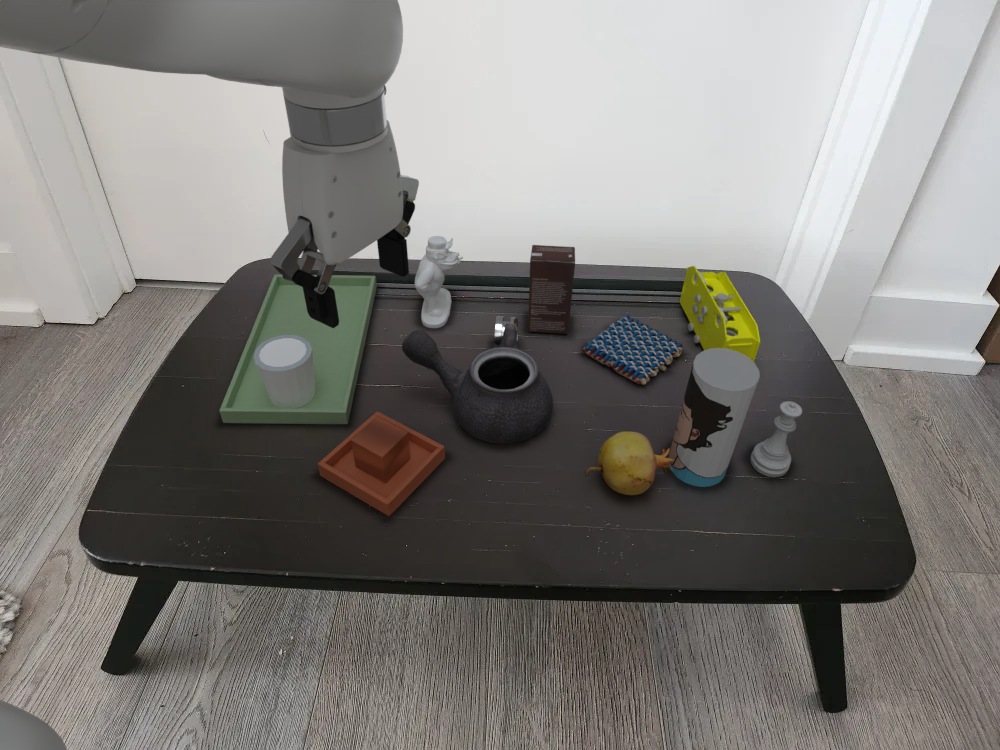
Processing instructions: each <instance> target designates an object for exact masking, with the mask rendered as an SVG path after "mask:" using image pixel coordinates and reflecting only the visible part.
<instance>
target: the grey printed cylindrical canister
mask: <svg viewBox="0 0 1000 750" xmlns="http://www.w3.org/2000/svg"><path fill="white" fill-rule="evenodd" d="M760 377H761V374H760V369H759V367H758V366H757V364H756V362H755V361H754V362H753V361H752V360H751V359H750V358H748V357H747V356H745V355H743V354H741V353H740V352H737V351H733V350H730V349H723V348H713V349H708V350H705V351H704V350H702V351H700V352H699V353H698V354H696V356H695V358H694V359H693V361H692V366H691V370H690V374H689V377H688V381H687V384H686V389H685V392H684V396H683V400H682V403H681V407H680V410H679V411H680V412H679V416H678V418H677V422H676V426H675V430H674V433H673V438H672V441H671V445H670V451H669V453H668V455H667V458H670V459H673V460H675V461H673V462H671V463H669V464H668V465H669V466H671V468H672V469H673V470H671V469H670V471H671V473H672V474H673V475H674V476H675V477H676V478H677V479H679V480H680V481H682V482H683V483H685V484H687V485H690V486H693V487H699V488H707V487H712V486H715V485H717V484H719V483H721V481H722V480H723V479H724V478H725V477H726V473H727V471H728V469H729V465H730V463H731V460H732V456H733V453H734V450H735V448H736V445H737V443H738V440H739V436H740V434H741V432H742V428H743V425H744V422H745V420H746V417H747V414H748V411H749V408H750V405H751V403H752V400H753V397H754V393H755V391H756V388H757V385H758V383H759V379H760Z"/></svg>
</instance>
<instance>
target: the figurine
mask: <svg viewBox="0 0 1000 750" xmlns="http://www.w3.org/2000/svg"><path fill="white" fill-rule="evenodd" d="M453 241H454V238H453V237H452V238H451V239H449V241H447V238H446V237H443V236H441V235H433V236H430V237H428V239H427V245H426V247H425V254H424V255H423V256H422V258H421V259H420V262H419V264H418V268H417V271H416V273H415V277H414V288H415V289H416V292H417V293H418V294H419V295H420V296H421V297H422V298H423V302H422V308H421V313H420V319H421V323H422V325H423V326H424V327H426V328H428V329H440V328H442V327H444V326H445V325H446V323H447V322H448V320H449V317H450V314H451V309H452V295H451V292H450V290H448V289H446V288H443V287H442V286H443V284H444V282H445V279H446V278H445V275H446V272H450V271H451V270H453V269H455V268H456V266H459V265H460V263H461V260H462V259H464V256H460V253H459V252H458V251H450V249H451V248H452V247H453V243H454V242H453Z"/></svg>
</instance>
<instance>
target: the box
mask: <svg viewBox="0 0 1000 750" xmlns="http://www.w3.org/2000/svg"><path fill="white" fill-rule="evenodd" d="M531 245H532V246H531V252H530V258H529V284H528V285H529V287H528V311H527V312H528V313H527V332H528V333H544V334H545V333H546V334H561V335H569V328H570V320H571V311H572V310H571V309H572V299H573V290H574V289H573V288H574V278H575V268H576V267H575V266H576V247H575V246H563V245H562V246H559V245H543V244H542V245H541V244H531Z"/></svg>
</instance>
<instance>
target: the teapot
mask: <svg viewBox="0 0 1000 750" xmlns="http://www.w3.org/2000/svg"><path fill="white" fill-rule="evenodd" d="M437 345H438V344H437V342H436V341H435V339H434V338H433V337H432V336H431V335H430V334H428V333H427V332H425V331H424V330H421V329H416V330H413V331H411V332H410V333H409V334H407V336H406V337H405V338H404V339H403V341H402V344H401V350H402V352H403V354H404V356H406V358H408V359H409V360H410V361H411V362H412V363H414V364H417V365H419V366H422V367H424V368H427V369H429V370H431V371H433V372H434V373H435V374H436V375H438V377H439V379H440V380H441V382H442V384H443V387H444V388H445V389H446V391H447V392H448V393H449V394H450V396H451V398H452V399H451V400H452V411H453V415H454V418H455V419H456V422H457V423H458V424H459V425H460V427H461V428H462V429H463V430H464V431H465V432H466V433H468V434H469V435H470V436H472V437H474V438H476V439H478V440H481V441H484V442H487V443H492V444H513V443H518V442H521V441H525V440H528V439H530V438H532V437H534V436H536V435H537V434H539V433H540V432H541V431H542V430H543V429H544V428H545V427H546V426H547V425H548V423H549V422H550V419H551V416H552V413H553V409H554V400H553V399H554V398H553V394H552V391H551V388H550V386H549V384H548V382H547V380H546V379H545V377H544V375H543V373H542V372H541V371H540V370H539V365H538V363H537V361H536V359H535V358H534V357H533V356H531V355H530V354H529V353H528V352H526V351H524V350H522V349H520V347H519V343H518V339H517V333H516V326H515V325H514V324H506V325H505V329H504V333H503V337H502V341H501V343H500V346H499V347H497V348H494V347H492V348H488V349H485V350H483V351H481V352H480V353H478V354H476V355H475V356H474V357H473V358H472V360H471V362H470V364H469V368H468V369H467V370H466V371H462V370H461V369H459V368H456V367H455V366H452V365H451V364H449V363H448V362H447V361H446V360H445V359H444V358H443V356H442V354H441V352H440V350H439V348H438V346H437Z"/></svg>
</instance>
